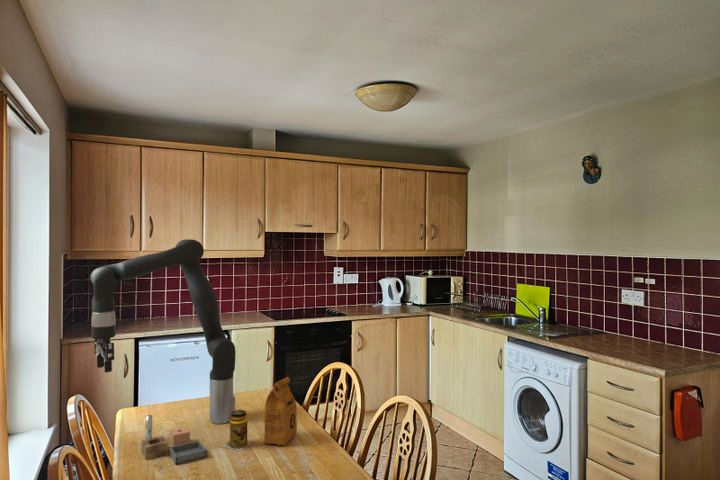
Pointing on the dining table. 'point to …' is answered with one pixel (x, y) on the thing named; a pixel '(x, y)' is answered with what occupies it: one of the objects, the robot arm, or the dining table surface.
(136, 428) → the dining table surface
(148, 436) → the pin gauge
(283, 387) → the coffee package
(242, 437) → the condiment
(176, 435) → the block
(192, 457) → the tray
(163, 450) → the go block
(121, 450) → the dining table surface
